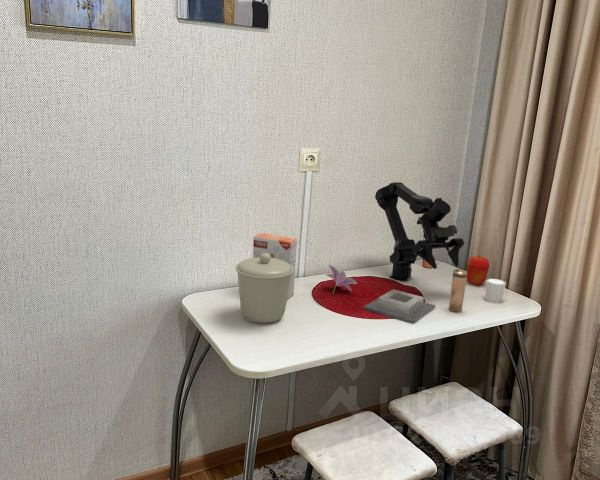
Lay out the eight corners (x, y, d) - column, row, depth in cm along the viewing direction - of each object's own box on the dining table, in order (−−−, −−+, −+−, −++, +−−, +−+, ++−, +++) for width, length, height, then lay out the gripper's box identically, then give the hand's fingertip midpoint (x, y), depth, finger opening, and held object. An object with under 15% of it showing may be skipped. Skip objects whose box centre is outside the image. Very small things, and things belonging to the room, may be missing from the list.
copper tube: (446, 310, 196) (451, 271, 192) (451, 306, 200) (456, 268, 196) (459, 313, 194) (464, 274, 190) (463, 310, 197) (469, 271, 193)
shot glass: (500, 297, 212) (503, 279, 210) (505, 303, 205) (508, 285, 203) (481, 295, 212) (484, 277, 211) (485, 302, 206) (488, 283, 204)
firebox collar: (363, 309, 193) (364, 298, 192) (388, 295, 207) (389, 284, 206) (413, 323, 183) (414, 312, 182) (435, 308, 197) (436, 297, 196)
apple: (468, 278, 231) (472, 250, 228) (489, 283, 226) (493, 254, 223) (461, 283, 224) (465, 254, 221) (482, 288, 219) (486, 259, 216)
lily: (357, 300, 203) (364, 274, 205) (330, 290, 198) (337, 264, 200) (339, 299, 214) (346, 274, 216) (313, 289, 209) (320, 264, 211)
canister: (271, 334, 170) (274, 266, 164) (222, 319, 178) (223, 254, 173) (301, 314, 185) (305, 252, 180) (254, 302, 194) (256, 241, 188)
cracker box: (250, 293, 201) (252, 235, 196) (258, 288, 207) (260, 231, 201) (287, 300, 196) (290, 241, 191) (294, 295, 202) (297, 237, 196)
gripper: (420, 218, 196) (436, 258, 189) (464, 215, 203) (481, 254, 197) (405, 234, 205) (419, 273, 198) (448, 231, 212) (463, 269, 206)
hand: (446, 267), depth 200 cm, fingers open, 9 cm apart
